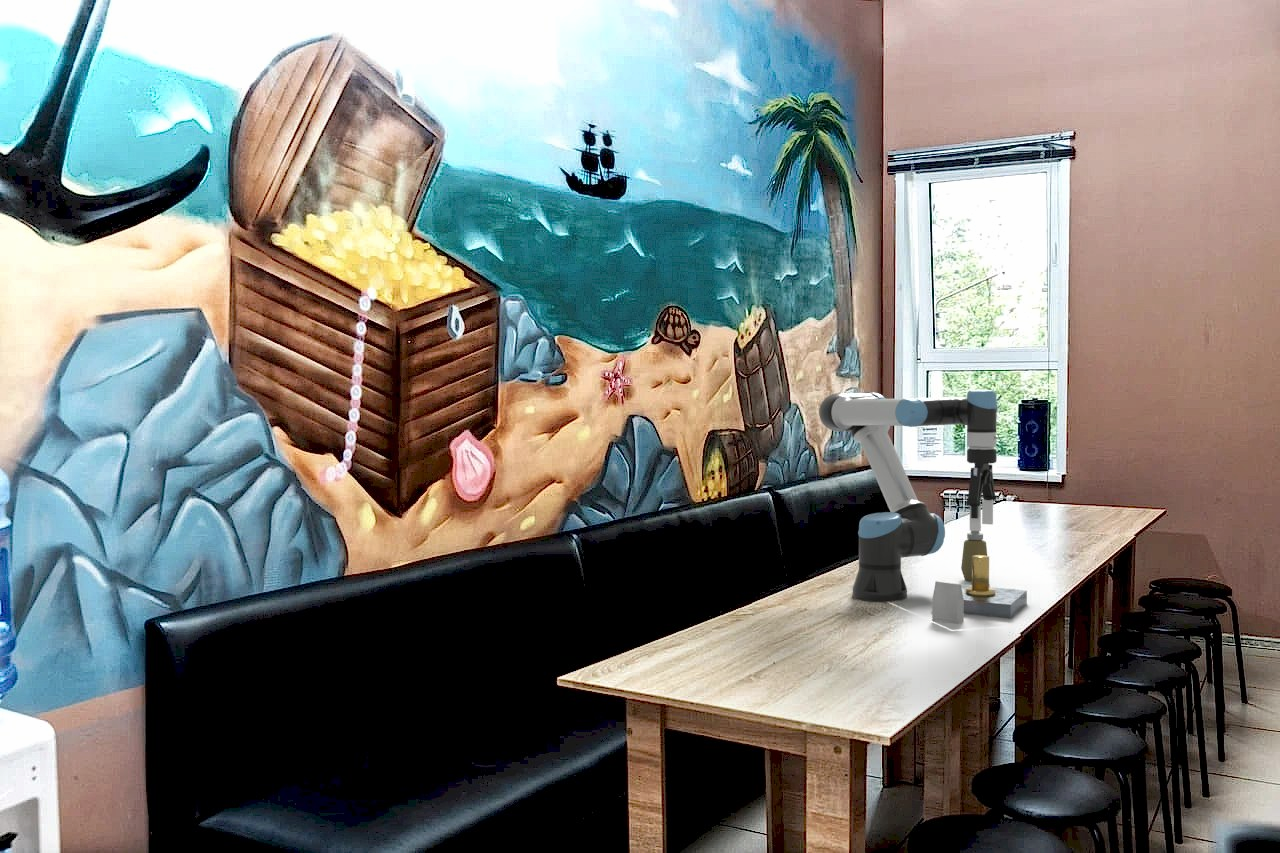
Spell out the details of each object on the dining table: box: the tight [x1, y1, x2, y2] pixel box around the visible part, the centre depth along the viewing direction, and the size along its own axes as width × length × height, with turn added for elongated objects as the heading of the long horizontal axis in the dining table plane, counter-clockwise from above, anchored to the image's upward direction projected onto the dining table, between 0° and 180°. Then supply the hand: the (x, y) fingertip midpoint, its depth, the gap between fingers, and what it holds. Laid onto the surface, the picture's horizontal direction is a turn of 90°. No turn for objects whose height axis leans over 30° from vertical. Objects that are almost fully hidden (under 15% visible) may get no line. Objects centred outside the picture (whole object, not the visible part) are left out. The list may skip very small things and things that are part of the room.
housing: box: [960, 583, 1028, 620], centre depth 292 cm, size 20×20×4 cm
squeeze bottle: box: [960, 530, 988, 583], centre depth 329 cm, size 8×8×18 cm
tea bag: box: [931, 580, 965, 624], centre depth 277 cm, size 4×7×10 cm, turn 51°
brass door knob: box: [966, 555, 995, 597], centre depth 292 cm, size 8×8×14 cm
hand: (981, 527), depth 291 cm, fingers open, 13 cm apart
